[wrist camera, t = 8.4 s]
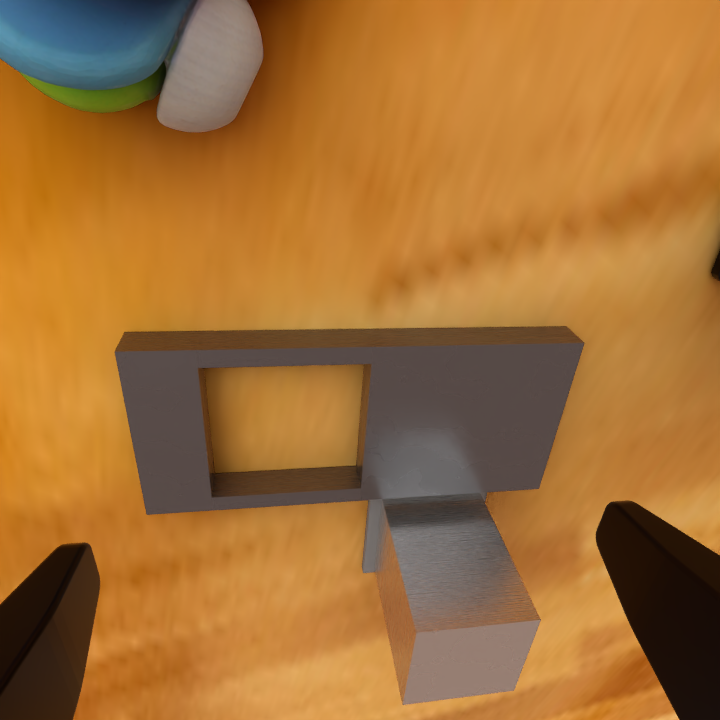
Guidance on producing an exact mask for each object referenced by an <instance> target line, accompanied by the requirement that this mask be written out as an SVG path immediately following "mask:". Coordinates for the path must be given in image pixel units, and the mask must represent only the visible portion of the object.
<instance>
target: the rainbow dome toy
mask: <svg viewBox="0 0 720 720" xmlns="http://www.w3.org/2000/svg"><path fill="white" fill-rule="evenodd" d="M0 59H2V60H3V61H5V62H6V63H7V64H9V65H10V66H11V67H13V68H14V69H16V70H18V71H19V72H20V73H21V74H22V75H23V76H24V77H25V79H26V80H27V81H28V82H30V83H31V84H32V85H33V86H34V87H36V88H37V89H38V90H40V91H41V92H43V93H44V94H45V95H47V96H49V97H51V98H53V99H54V100H56V101H58V102H60V103H62V104H64V105H67V106H69V107H71V108H74V109H78V110H82V111H88V112H97V113H107V112H116V111H122V110H126V109H129V108H132V107H135V106H137V105H139V104H141V103H143V102H145V101H146V100H153V99H154V98H155V97H156V96H157V95H158V94H159V93H160V91H161V93H160V98H159V103H158V107H157V118H158V120H159V122H160V123H161V124H163V125H164V126H167V127H169V128H172V129H176V130H180V131H184V132H207V131H211V130H215V129H218V128H221V127H223V126H225V125H228V124H229V123H230V122H232V121H233V120H234V119H235V117H236V116H237V114H238V112H239V110H240V108H241V106H242V104H243V102H244V100H245V98H246V96H247V94H248V91H249V89H250V87H251V85H252V83H253V81H254V79H255V77H256V75H257V73H258V70H259V68H260V66H261V64H262V61H263V45H262V38H261V34H260V30H259V27H258V24H257V21H256V18H255V16H254V13H253V11H252V9H251V7H250V5H249V3H248V2H247V0H0Z"/></svg>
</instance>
